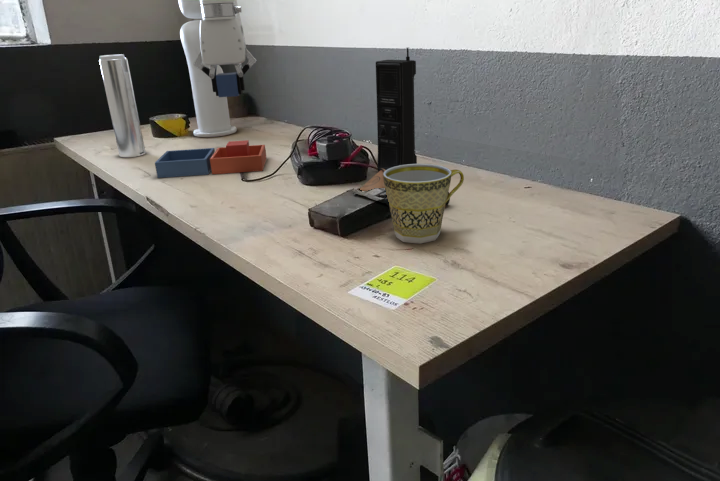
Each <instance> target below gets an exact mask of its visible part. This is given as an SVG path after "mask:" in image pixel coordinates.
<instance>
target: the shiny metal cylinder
mask: <svg viewBox="0 0 720 481" xmlns="http://www.w3.org/2000/svg"><path fill="white" fill-rule="evenodd" d="M98 62H99V65H100V72H101V75H102V80H103V81H102V82H103V85H104V92H105V94H106V101H107V104H108V108H109V109H108V110H109V114H110V119H111V123H112V127H113V128H112V129H113V133H114V137H115V142H116V146H117V151H118V155H119V157H120V158H136V157H140V156H143V155H145V154H146V148H145V142H144V138H143V133H142V127H141V122H140V117H139V112H138V106H137V103H136V96H135V91H134V86H133V80H132V76H131V71H130V66H129V61H128V57H125V54H124V53H123V54H122V53H121V54H119V53H118V54H104V55H99V60H98Z"/></svg>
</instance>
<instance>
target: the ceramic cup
mask: <svg viewBox="0 0 720 481" xmlns="http://www.w3.org/2000/svg"><path fill="white" fill-rule="evenodd" d="M456 174H459V178H460V179H459V182H458V183H457V184H456V186H454V188H452V189H451V191H450V188H451V187H450V186H451V181H452V177H454V176H455V175H456ZM383 178H384V185H385V190H386V195H387V199H388V202H389V206H388V207H389V211H390V212H389V213H390V217H391V221H392V226H393V232H394V236H395V237H396V238H397V239H398V240H399V241H401V242H403V243H407V244H419V245H420V244H425V243H429V242H435V241H436V240H437V239H438V238H439V236H440V234H441V230H442V225H443V219H444V214H445V209H446V208H445V203H446V202H447V201H448V200H449V199H450V200H451V197H452V196H453V195H454V193H455V192H456V191H458V190H459V189H460V188H461V186H462V185H463V184H464V180H465V177H464V174H463V172H462V171H461V170H459V169H449V168H448V167H446V166H443V165H439V164H432V163H417V164H407V165H400V166H395V167H392V168H389V169H387V170H386V171H385V172H384V173H383ZM448 192H449V194H448Z"/></svg>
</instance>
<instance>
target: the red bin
mask: <svg viewBox="0 0 720 481" xmlns="http://www.w3.org/2000/svg"><path fill="white" fill-rule="evenodd" d="M249 148H250V156H239V157H227V150H226V146H223V147H221V146H220V147H217V148H216V149H215V152H214V154H213V155H212V157H211V158H210V163H211V174H212V175H221V174H236V173H238V174H239V173H251V172H263V171H264V168H265V165H266V161H267V152H266V144H255V145H254V144H252V145H249Z"/></svg>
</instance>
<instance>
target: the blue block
mask: <svg viewBox="0 0 720 481" xmlns="http://www.w3.org/2000/svg"><path fill="white" fill-rule="evenodd" d="M237 74H238V73H237V71H234V72H223V73H219V74H217V75H216V81H217V88H218V95H219V97H227V98H229V97H230V98H231V97H239V96H240V95H239V93H238V85H237Z"/></svg>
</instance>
